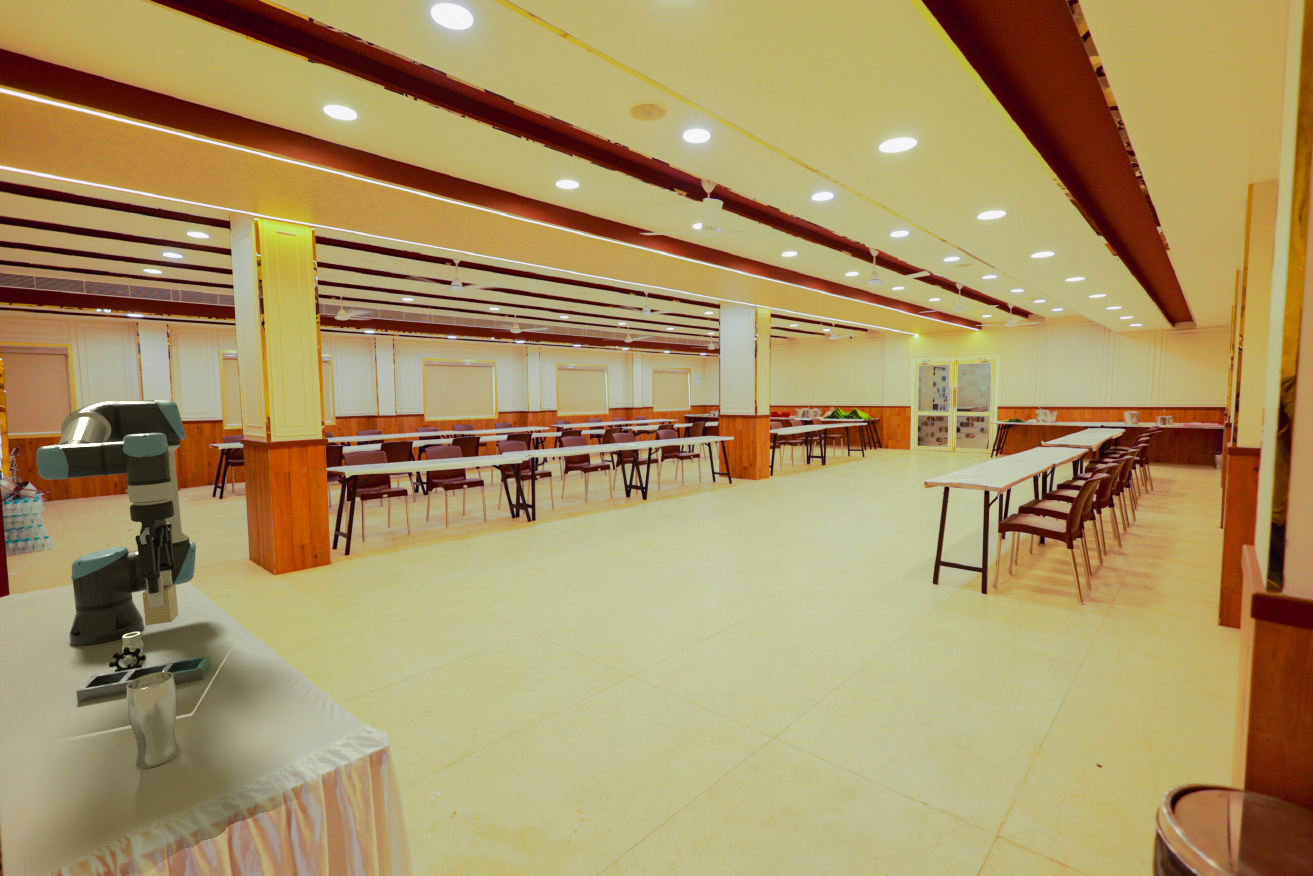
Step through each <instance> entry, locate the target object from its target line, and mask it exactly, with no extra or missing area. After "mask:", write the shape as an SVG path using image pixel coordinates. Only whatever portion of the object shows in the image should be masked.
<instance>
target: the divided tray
mask: <svg viewBox="0 0 1313 876" xmlns="http://www.w3.org/2000/svg"><path fill="white" fill-rule="evenodd" d="M210 667H211V657H210V656H200V657H195V658H188V659H182V660H177V661H176V660H175V661H173V662H166V663H162V664H155V665H149V666H142V668H137V669H136V668H134V669H131V670H125V671H119V672H115V671H114V672H108V673H102V674H97V675H96V674H95V675H91V676H90V677H89V678H88V679H87V680H86V681H85V682H84V683H83V684H82V685H81V686H80V687H79V688H78V689H77V690H76V692H75V693H76V699H77V703H80V702H86V701H87V702H88V701H93V700H98V699H104V698H108V697H109V698H110V697H114V696H120V695H127V688H126V686H127V685H128V684H129V683H130V682H131V681H133V680H135V679H137V678H139V677H142V676H145V675H148V674H152V673H157V672H171V673H173V676H174V681H175V686H177V685H183V684H186V683H192V682H198V681H203V679H204V677H205V676H206V674H207V672H208V671H209V670H210Z"/></svg>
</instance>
